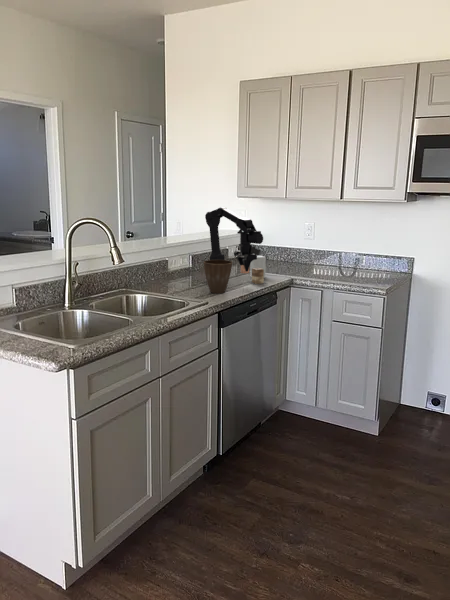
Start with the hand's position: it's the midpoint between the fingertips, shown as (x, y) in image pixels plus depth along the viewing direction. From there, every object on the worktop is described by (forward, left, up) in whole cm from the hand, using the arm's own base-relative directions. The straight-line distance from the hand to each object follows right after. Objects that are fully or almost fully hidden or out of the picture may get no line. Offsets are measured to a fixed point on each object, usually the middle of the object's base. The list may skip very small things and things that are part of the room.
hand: (244, 270), depth 281 cm
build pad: (+10, +4, -8) cm, 14 cm away
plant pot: (-20, -11, -9) cm, 24 cm away
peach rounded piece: (0, 0, -1) cm, 1 cm away
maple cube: (+10, +4, -8) cm, 14 cm away
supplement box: (+18, +21, -9) cm, 29 cm away
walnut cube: (+10, +4, -4) cm, 11 cm away
